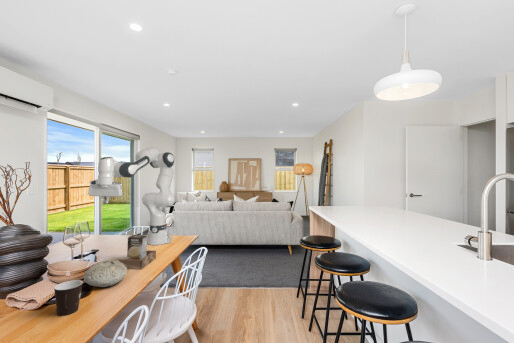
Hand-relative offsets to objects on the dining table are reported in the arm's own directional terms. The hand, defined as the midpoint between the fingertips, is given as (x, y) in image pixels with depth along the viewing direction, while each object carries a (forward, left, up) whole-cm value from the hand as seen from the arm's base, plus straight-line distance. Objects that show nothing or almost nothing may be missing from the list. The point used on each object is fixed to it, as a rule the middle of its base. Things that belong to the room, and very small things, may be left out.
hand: (105, 203), depth 158 cm
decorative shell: (+39, +26, -34) cm, 58 cm away
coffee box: (+11, +27, -34) cm, 45 cm away
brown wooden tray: (+11, +25, -35) cm, 44 cm away
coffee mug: (+65, +27, -34) cm, 78 cm away
